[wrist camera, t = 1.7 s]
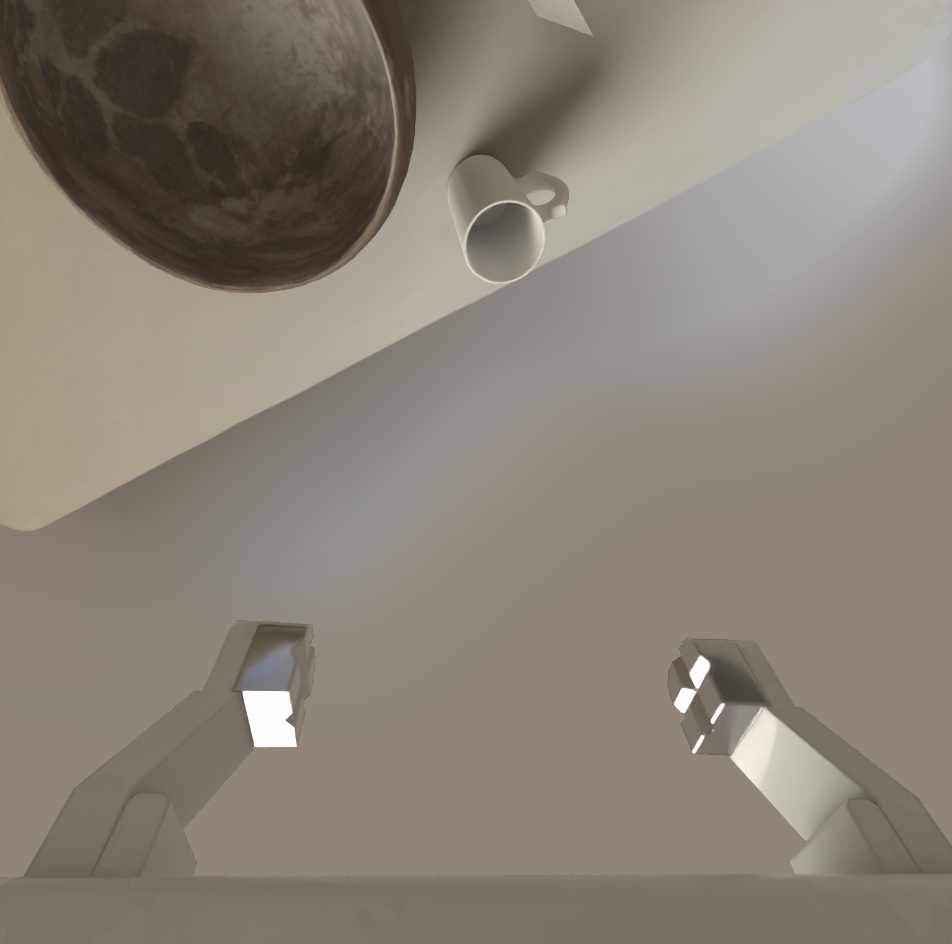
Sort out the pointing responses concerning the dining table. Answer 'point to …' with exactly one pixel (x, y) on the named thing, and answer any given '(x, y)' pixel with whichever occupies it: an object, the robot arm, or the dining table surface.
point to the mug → (501, 217)
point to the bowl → (217, 127)
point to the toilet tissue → (561, 13)
